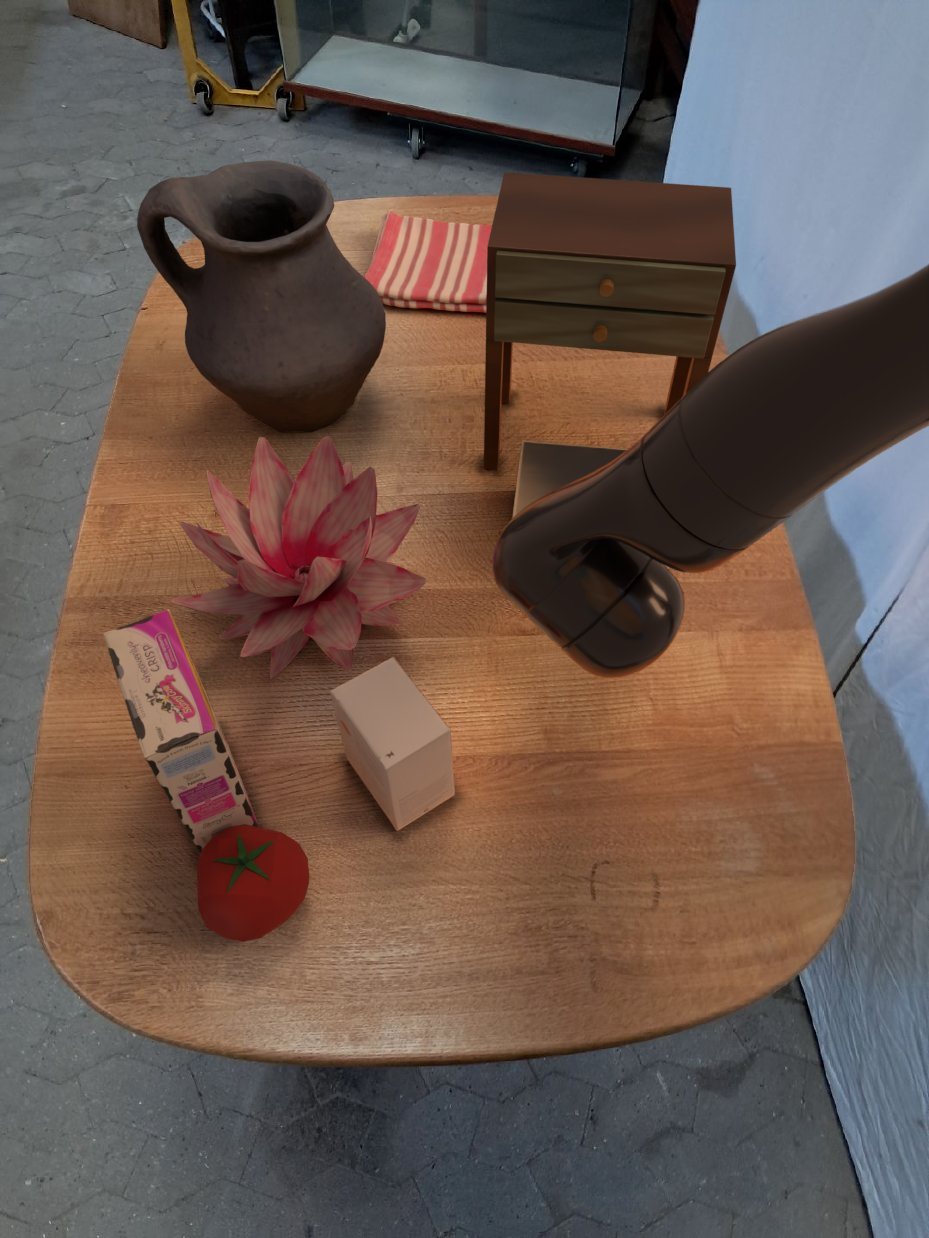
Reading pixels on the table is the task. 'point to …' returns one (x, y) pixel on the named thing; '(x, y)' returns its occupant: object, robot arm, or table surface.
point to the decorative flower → (304, 557)
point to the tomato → (250, 881)
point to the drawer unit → (605, 276)
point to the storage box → (555, 467)
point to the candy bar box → (178, 727)
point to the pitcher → (267, 291)
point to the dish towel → (430, 264)
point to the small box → (395, 742)
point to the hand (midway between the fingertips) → (570, 547)
